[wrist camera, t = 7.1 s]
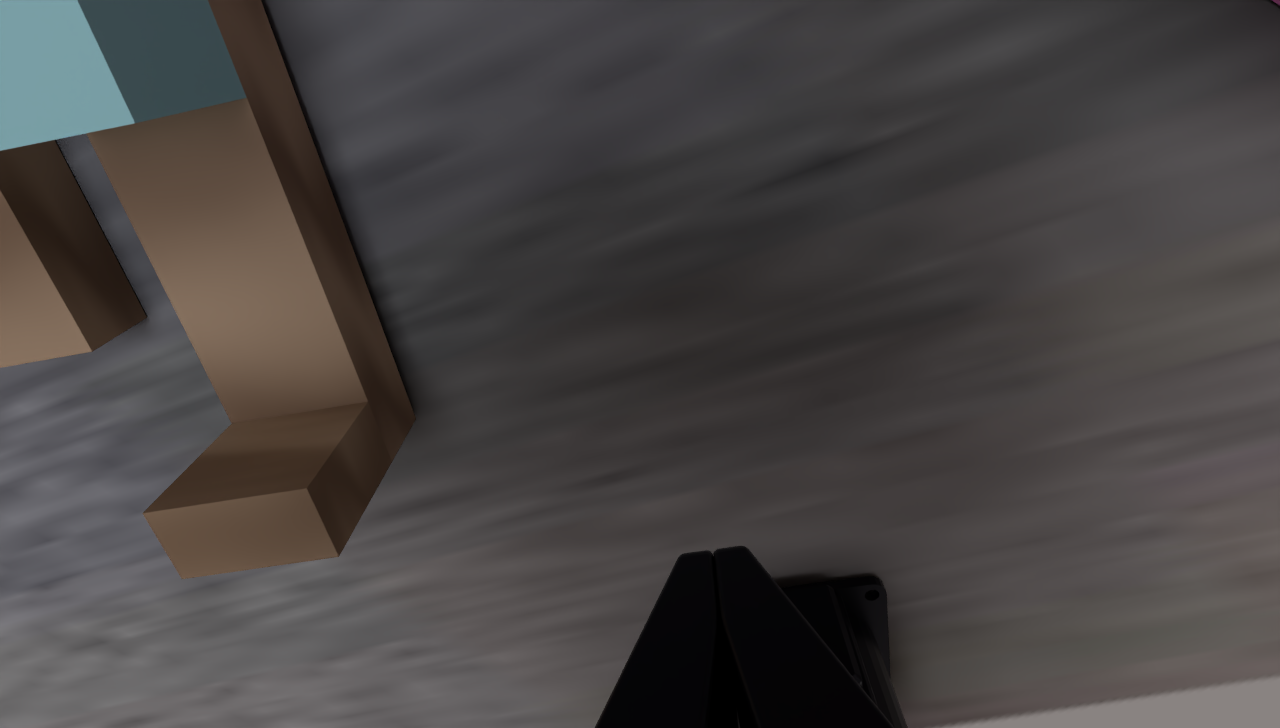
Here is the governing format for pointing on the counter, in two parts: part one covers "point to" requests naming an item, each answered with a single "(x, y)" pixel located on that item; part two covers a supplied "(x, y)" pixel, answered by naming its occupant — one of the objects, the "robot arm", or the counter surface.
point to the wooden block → (261, 319)
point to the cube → (106, 65)
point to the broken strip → (54, 263)
